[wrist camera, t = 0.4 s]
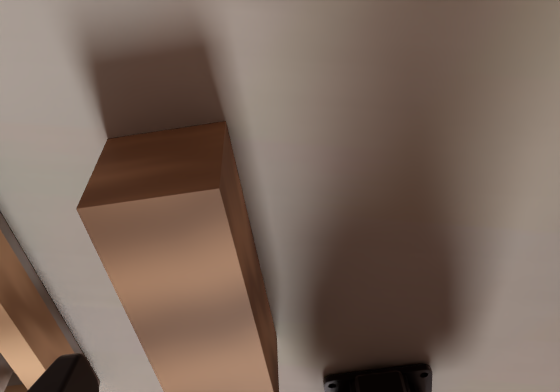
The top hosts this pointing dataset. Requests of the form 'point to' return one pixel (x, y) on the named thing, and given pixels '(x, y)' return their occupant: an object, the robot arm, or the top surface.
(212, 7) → the top surface
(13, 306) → the wooden tray
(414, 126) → the top surface
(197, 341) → the brown wooden block
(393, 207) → the top surface
